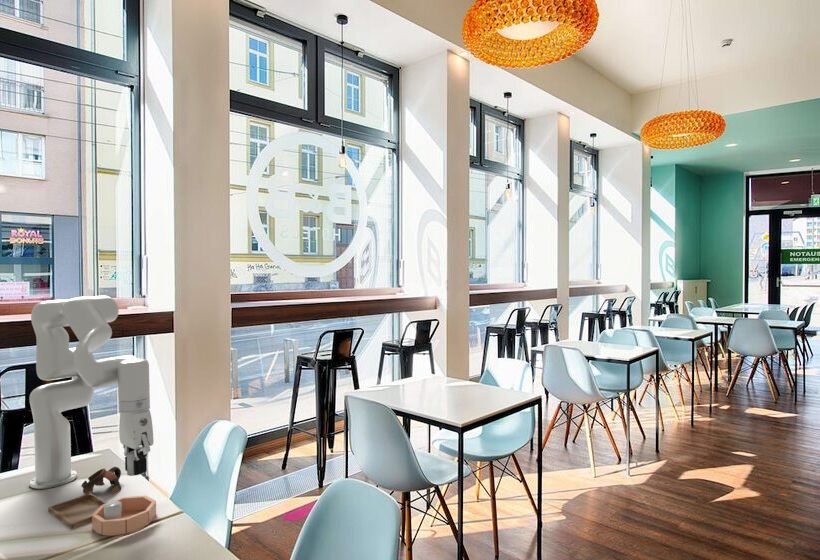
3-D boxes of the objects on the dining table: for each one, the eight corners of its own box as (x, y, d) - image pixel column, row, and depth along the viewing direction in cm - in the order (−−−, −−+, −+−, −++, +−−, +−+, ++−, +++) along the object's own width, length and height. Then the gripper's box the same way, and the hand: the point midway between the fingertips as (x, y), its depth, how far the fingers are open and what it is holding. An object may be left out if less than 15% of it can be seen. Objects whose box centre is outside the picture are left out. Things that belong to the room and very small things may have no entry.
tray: (48, 513, 142) (48, 507, 142) (91, 498, 151) (91, 492, 151) (71, 531, 132) (71, 524, 132) (116, 514, 141) (116, 507, 141)
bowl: (85, 526, 135) (84, 510, 135) (139, 506, 146) (138, 491, 146) (109, 543, 126) (108, 526, 126) (164, 520, 138) (164, 505, 138)
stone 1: (115, 519, 136) (115, 499, 136) (124, 523, 135) (124, 503, 134) (100, 526, 133) (100, 506, 133) (109, 530, 131) (109, 509, 131)
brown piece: (112, 501, 150) (95, 480, 148) (88, 513, 152) (70, 492, 150) (135, 475, 162) (119, 455, 160) (112, 486, 163) (96, 466, 161)
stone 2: (139, 468, 141) (139, 449, 141) (146, 472, 138) (146, 452, 138) (124, 473, 138) (124, 453, 138) (131, 476, 135) (131, 456, 135)
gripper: (163, 406, 136) (165, 473, 136) (133, 397, 146) (135, 460, 146) (135, 413, 130) (136, 483, 130) (105, 403, 140) (107, 469, 140)
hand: (136, 470), depth 138 cm, fingers closed on stone 2, 4 cm apart
